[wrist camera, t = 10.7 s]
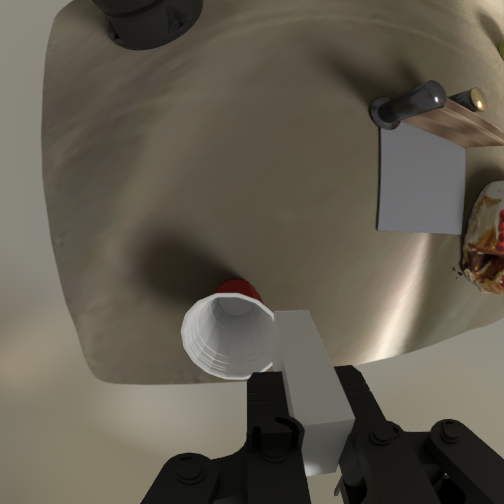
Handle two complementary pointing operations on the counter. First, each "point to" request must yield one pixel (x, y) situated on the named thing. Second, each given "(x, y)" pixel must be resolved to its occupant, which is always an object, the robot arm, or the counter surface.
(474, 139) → the gate
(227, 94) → the counter surface
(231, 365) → the plastic cup
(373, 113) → the salt and pepper shakers
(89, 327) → the counter surface
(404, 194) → the rubber mat
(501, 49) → the plant pot
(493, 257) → the strawberry shortcake
